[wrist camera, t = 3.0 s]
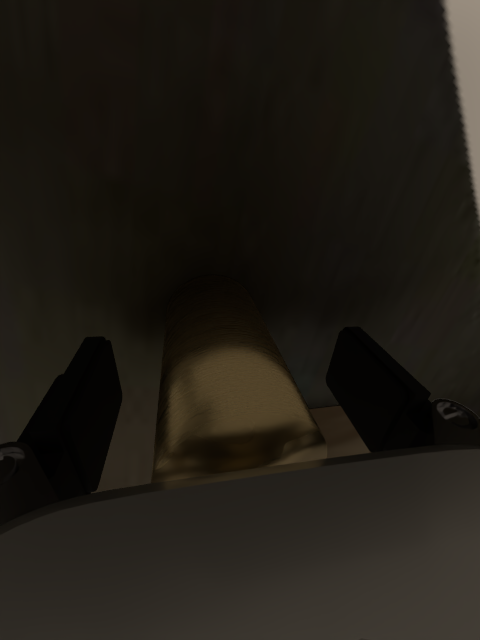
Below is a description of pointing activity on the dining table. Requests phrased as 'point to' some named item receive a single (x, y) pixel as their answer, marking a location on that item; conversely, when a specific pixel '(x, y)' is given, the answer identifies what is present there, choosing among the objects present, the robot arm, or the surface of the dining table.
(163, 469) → the banded brass cylinder
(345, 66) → the dining table surface
